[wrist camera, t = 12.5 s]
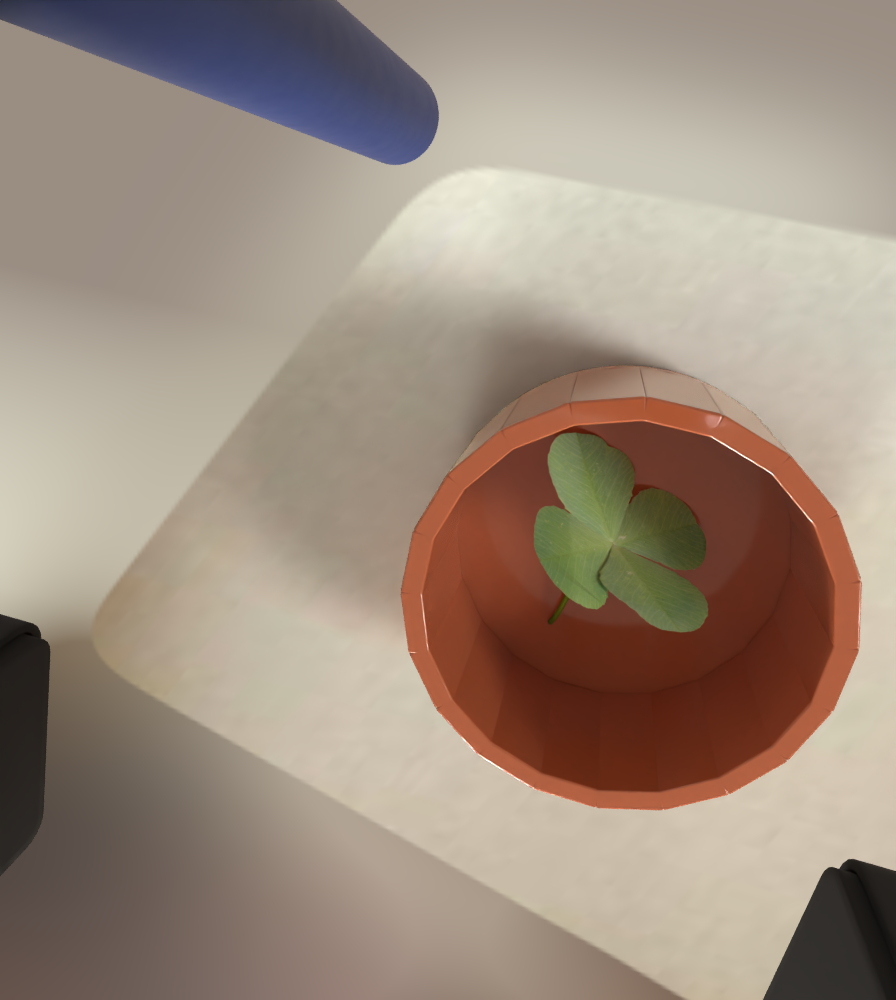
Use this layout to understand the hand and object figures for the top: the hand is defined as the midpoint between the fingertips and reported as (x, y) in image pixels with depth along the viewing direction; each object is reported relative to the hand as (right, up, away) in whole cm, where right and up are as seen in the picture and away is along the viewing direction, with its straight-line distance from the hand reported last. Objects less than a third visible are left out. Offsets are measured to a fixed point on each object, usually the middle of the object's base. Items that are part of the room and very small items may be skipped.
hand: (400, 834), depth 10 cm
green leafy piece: (+6, +3, +21) cm, 22 cm away
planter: (+7, +2, +21) cm, 23 cm away
